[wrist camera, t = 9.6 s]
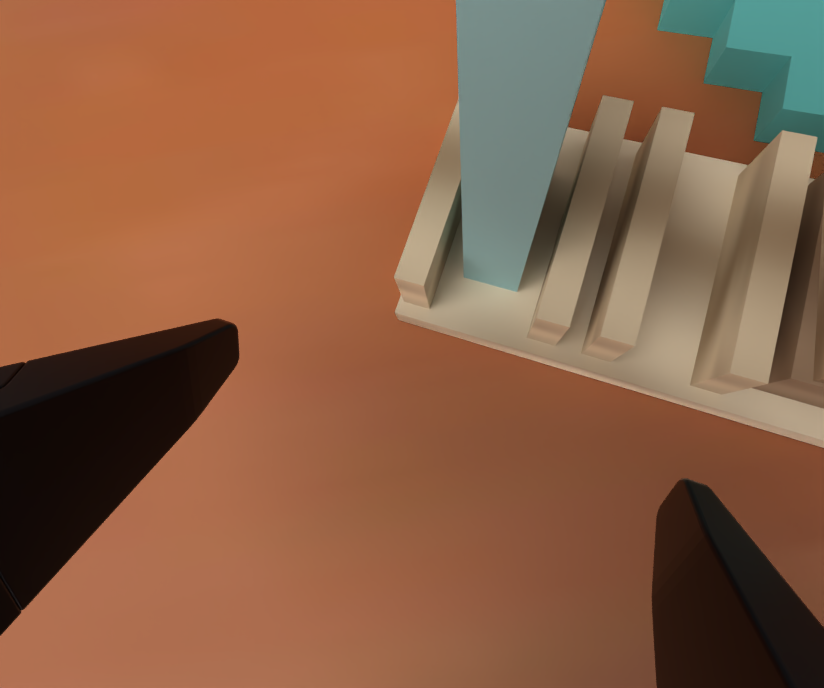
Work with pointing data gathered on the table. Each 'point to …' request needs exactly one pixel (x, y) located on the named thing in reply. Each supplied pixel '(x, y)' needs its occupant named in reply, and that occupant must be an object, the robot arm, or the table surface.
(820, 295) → the upper oak offcut
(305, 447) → the table surface
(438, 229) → the birch rack
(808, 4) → the alien figure
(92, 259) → the table surface
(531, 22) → the teal panel
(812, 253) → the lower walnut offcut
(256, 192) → the table surface
